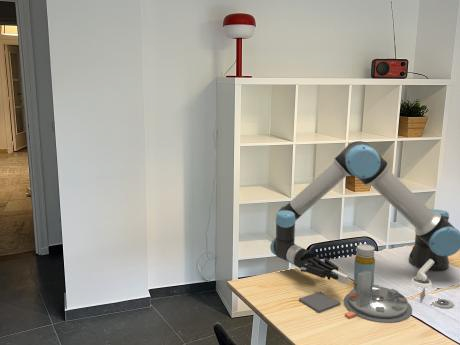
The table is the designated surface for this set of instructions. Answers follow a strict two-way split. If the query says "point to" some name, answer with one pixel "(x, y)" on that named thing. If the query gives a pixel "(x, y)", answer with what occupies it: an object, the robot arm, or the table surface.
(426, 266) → the hook
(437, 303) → the bracket
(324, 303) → the pad
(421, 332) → the table surface
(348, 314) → the pointer
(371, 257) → the bottle
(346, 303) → the plate
